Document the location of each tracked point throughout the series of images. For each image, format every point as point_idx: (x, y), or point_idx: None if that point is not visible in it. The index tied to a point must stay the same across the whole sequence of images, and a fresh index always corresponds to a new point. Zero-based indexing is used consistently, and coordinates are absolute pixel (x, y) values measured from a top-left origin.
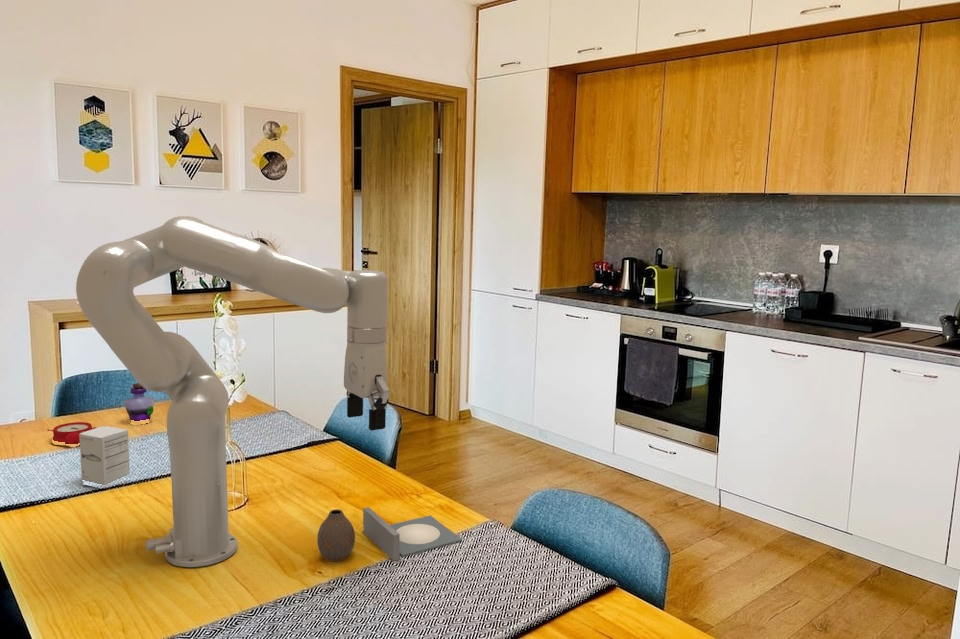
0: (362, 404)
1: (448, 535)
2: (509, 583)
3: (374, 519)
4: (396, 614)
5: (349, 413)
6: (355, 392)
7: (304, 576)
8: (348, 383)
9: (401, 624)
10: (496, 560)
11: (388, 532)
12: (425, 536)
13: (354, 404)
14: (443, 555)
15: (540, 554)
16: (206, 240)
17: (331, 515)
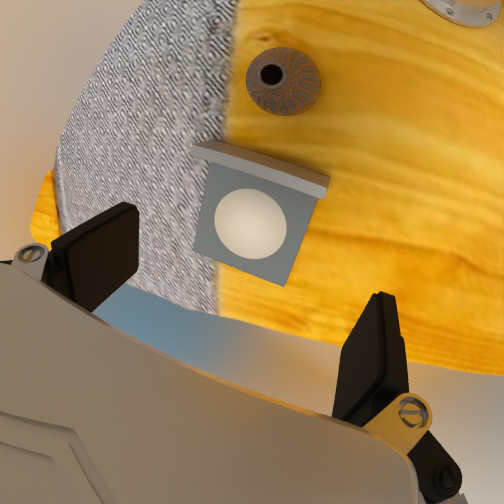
0: (336, 392)
1: (213, 249)
2: (99, 203)
3: (272, 168)
4: (120, 67)
5: (374, 304)
6: (68, 323)
7: (270, 17)
8: (236, 488)
9: (106, 63)
10: None
11: (212, 149)
12: (233, 225)
13: (360, 366)
14: (180, 202)
15: None
16: None
17: (268, 60)
